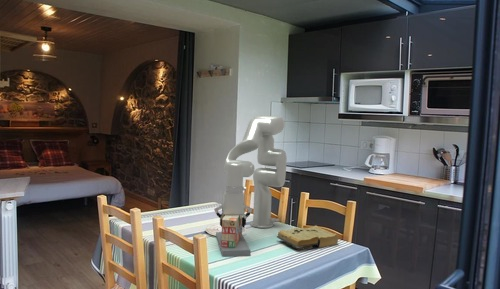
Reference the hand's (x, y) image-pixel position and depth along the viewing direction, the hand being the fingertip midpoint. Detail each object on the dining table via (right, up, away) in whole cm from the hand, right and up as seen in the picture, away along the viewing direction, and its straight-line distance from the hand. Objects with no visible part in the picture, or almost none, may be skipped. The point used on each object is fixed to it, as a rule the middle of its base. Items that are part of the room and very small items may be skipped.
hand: (232, 226), depth 173 cm
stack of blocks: (0, -6, +1) cm, 7 cm away
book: (+35, -10, +9) cm, 38 cm away
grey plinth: (0, -9, +1) cm, 9 cm away
